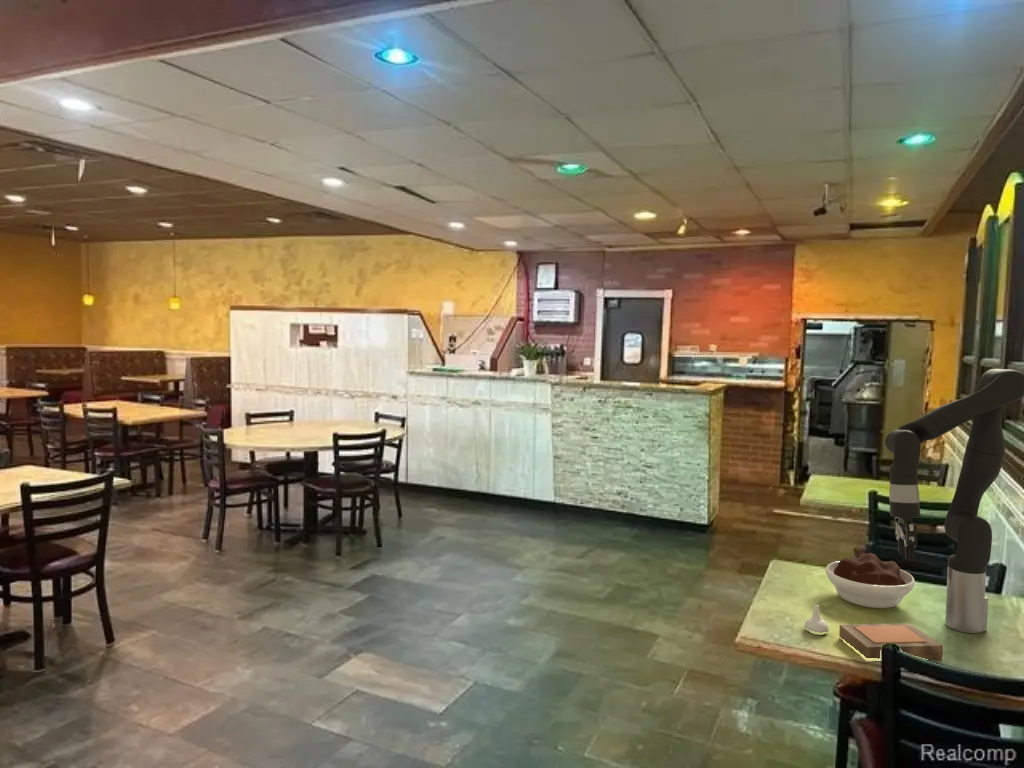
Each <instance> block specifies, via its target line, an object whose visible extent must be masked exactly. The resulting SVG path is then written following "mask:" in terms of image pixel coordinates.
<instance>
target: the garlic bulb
mask: <svg viewBox="0 0 1024 768" xmlns="http://www.w3.org/2000/svg"><path fill="white" fill-rule="evenodd" d="M812 611H813V612H812V616H811V617H809V618H807V619H806V620H805V622H804V629H805V628H807V629H808V630H811V631H815V632H820V633H822V632H828V633H829V628H830V627H829V625H828V622H827V621H826V620H824V619H823V618H822V617H821V614H820V605H819V604H814V607H813V610H812Z"/></svg>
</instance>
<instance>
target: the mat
mask: <svg viewBox="0 0 1024 768" xmlns="http://www.w3.org/2000/svg"><path fill="white" fill-rule="evenodd" d="M854 628H855V629H857V630H858V631H859V632H860V633H862V634H863V635H864V636H866V637H867V638H868V639H869V640H871V641H872V642H873V643H888V642H889V643H925V642H927V641H926V640H924V639H923V638H921V637H920V636H918V635H917V634H915V633H914V632H912V631H911V630H910V629H908V628H907V627H905V626H854Z"/></svg>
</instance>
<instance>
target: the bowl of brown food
mask: <svg viewBox="0 0 1024 768" xmlns="http://www.w3.org/2000/svg"><path fill="white" fill-rule="evenodd" d="M825 574H826V576H827V578H828V580H829V581H830V583H832V585H833V586H834V588H835V590H836V593H837V594H838V596H839V597H840V598H842V599H843V600H845V601H846V602H849V603H851V604H855V605H857V606H859V607H860V606H862V607H866V608H871V609H889V608H890V609H891V608H894V607H897V606H898V605H900V604H901V602H902V601H903V599H904V597H905V596H907V595H908V594H909V593H910V592H911V591H912V590H913V589H914V586H915V583H916V581H915V578H914V577H913V575H912V574H911V573H909V572H907V571H905V570H904V569H901V567H900V566H899V565H898V564H897V562H896V561H893V560H889V561H882V560H881V559H879V557H878V556H877V555H876V554H875V553H872V552H868V553H864V552H863V553H861V554H860V555H859V558H858V557H854V556H853V555H852V556H846V557H844V558H843V559H841V560H839V561H838V560H837V561H833V562H830V563H829V564H827V565H826V567H825Z"/></svg>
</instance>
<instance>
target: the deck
mask: <svg viewBox="0 0 1024 768" xmlns="http://www.w3.org/2000/svg"><path fill="white" fill-rule="evenodd" d="M854 626H905V627H907V628H908V629H910V630H911V631H912V632H914V633H915V634H917V635H918V636H920V637H921V638H923V639H924V640H926V641H927V642H925V643H895V644H897V645H898V646H900V648H901V650H902V651H903V652H906V653H908V654H911V655H914V656H918V657H921V658H925V659H928V660H935V661H934V662H939V661H940V662H943V660H944V659H943V658H944V645H943V644H942V643H940V642H938V641H937V640H936V639H934V638H933V637H931V636H930V635H928V634H927V633H925V632H923V631H922V630H921V629H919V628H918V627H916V626H915V625H913V624H911V623H865V624H863V623H861V624H860V623H858V624H857V623H856V624H839V631H838V632H839V636H840V637H841V638H842V639H844V640H845V641H846V642H847V643H849V644H850V645H851V646H853V647H854V648H855V649H856V650H858V651H859V652H860V653H861V654H863V655H864V656H865V657H866V658H878V659H879V658H880V650H881V646H882V645H883V644H884V643H873V642H872V641H871V640H869V639H868V638H867V637H866V636H864V635H863V634H862V633H860V632H859V631H858V630H857V629H855V628H854ZM839 636H838V637H839Z"/></svg>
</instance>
